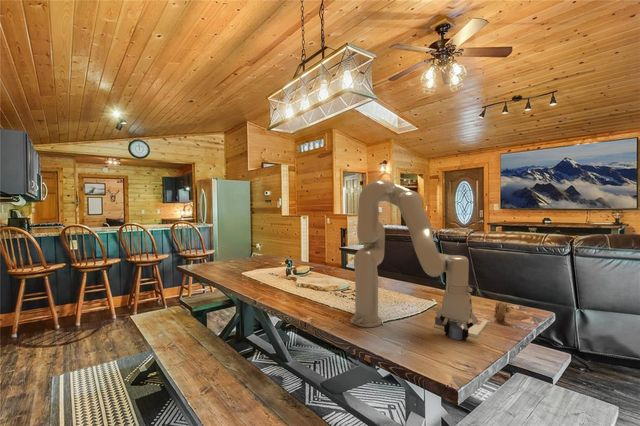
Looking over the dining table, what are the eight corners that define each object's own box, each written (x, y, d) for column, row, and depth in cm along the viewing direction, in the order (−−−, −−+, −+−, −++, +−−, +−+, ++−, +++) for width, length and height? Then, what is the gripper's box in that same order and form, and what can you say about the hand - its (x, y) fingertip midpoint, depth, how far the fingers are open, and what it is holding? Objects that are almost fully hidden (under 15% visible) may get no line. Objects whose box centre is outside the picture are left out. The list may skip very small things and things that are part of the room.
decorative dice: (458, 335, 124) (459, 325, 124) (463, 340, 120) (463, 329, 120) (448, 335, 124) (448, 325, 123) (452, 340, 120) (453, 329, 119)
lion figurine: (511, 326, 133) (512, 304, 132) (497, 325, 134) (497, 303, 134) (502, 313, 147) (502, 294, 146) (489, 312, 148) (489, 293, 148)
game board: (476, 337, 122) (476, 327, 122) (434, 326, 132) (434, 317, 132) (488, 323, 136) (488, 313, 135) (448, 314, 146) (449, 305, 146)
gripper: (484, 290, 118) (483, 339, 119) (437, 283, 129) (436, 327, 130) (479, 295, 113) (478, 346, 113) (430, 287, 123) (429, 333, 124)
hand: (456, 336), depth 122 cm, fingers closed on decorative dice, 5 cm apart
